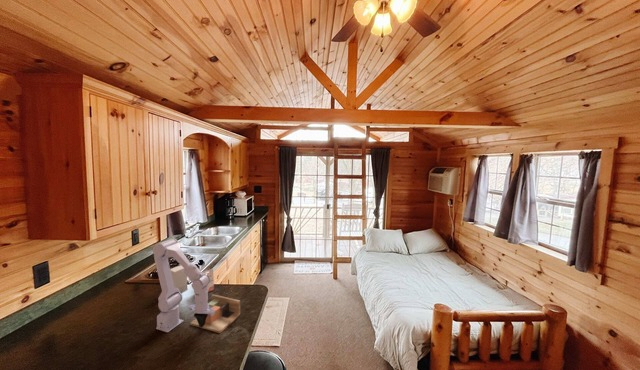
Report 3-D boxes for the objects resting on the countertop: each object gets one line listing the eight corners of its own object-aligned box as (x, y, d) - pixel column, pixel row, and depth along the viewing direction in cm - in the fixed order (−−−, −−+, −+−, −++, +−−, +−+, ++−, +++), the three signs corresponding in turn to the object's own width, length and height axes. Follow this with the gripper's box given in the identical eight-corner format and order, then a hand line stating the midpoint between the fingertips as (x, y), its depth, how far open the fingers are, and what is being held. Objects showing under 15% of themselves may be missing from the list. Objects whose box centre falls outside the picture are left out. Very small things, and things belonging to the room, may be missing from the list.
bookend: (227, 318, 131) (227, 309, 130) (221, 316, 132) (221, 307, 131) (234, 312, 136) (234, 303, 135) (227, 310, 137) (227, 302, 136)
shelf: (220, 333, 121) (219, 317, 120) (190, 324, 127) (190, 309, 126) (240, 314, 136) (240, 300, 135) (213, 307, 142) (212, 294, 141)
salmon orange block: (211, 323, 126) (210, 314, 125) (204, 322, 127) (204, 312, 127) (220, 315, 133) (220, 307, 132) (214, 314, 134) (214, 305, 133)
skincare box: (182, 287, 164) (181, 264, 163) (188, 289, 161) (187, 266, 159) (169, 292, 157) (168, 269, 155) (175, 295, 153) (174, 271, 152)
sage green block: (213, 314, 134) (212, 305, 133) (207, 312, 135) (207, 304, 134) (219, 308, 139) (219, 300, 138) (214, 307, 140) (214, 299, 139)
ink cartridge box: (210, 287, 164) (209, 266, 163) (214, 289, 161) (213, 268, 160) (197, 292, 158) (196, 270, 156) (201, 295, 155) (200, 272, 153)
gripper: (219, 298, 123) (219, 324, 124) (196, 293, 127) (196, 317, 129) (208, 306, 116) (209, 333, 117) (184, 300, 121) (185, 326, 122)
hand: (202, 325), depth 123 cm, fingers closed
